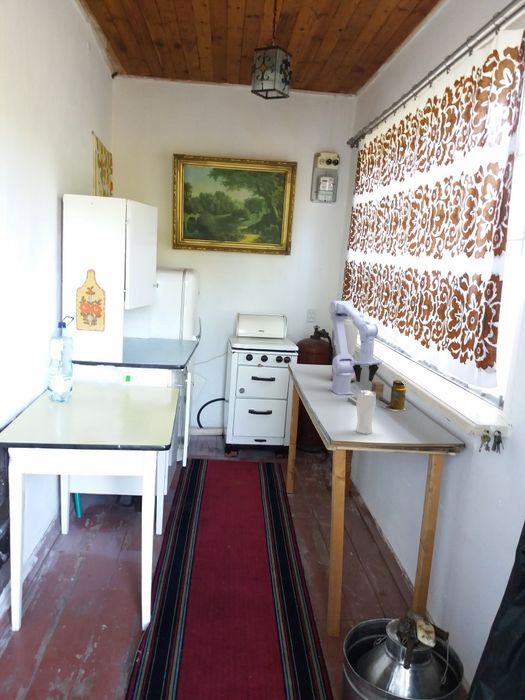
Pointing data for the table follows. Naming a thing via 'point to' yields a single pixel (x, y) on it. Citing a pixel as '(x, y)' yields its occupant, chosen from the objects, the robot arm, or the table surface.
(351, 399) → the panel
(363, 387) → the table surface
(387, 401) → the dark gray rod
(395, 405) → the condiment
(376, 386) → the walnut block
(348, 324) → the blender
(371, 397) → the beer glass
